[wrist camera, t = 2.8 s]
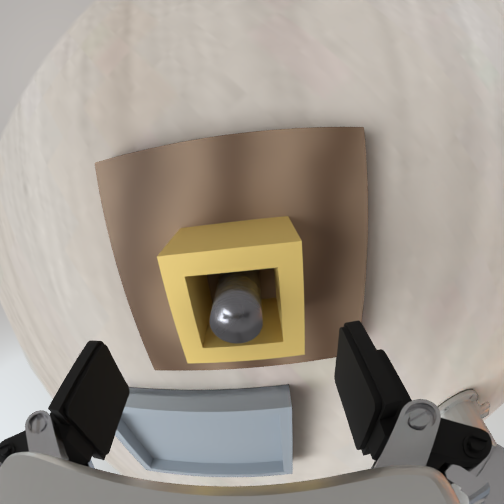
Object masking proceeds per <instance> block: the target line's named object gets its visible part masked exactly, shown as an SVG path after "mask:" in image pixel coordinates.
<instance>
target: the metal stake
mask: <svg viewBox="0 0 504 504" xmlns="http://www.w3.org/2000/svg"><path fill="white" fill-rule="evenodd" d="M262 325H263V319H262V304H261V290H260V275H259V269H258V270H248V271H238V272H228V273H220V275H219V279H218V284H217V288H216V292H215V297H214V301H213V306H212V310H211V315H210V327H211V329H212V331H213V333H214V334H215V335H216V336H217V337H218V338H220V339H221V340H223V341H226V342H229V343H236V344H237V343H245V342H248V341H250V340H252V339H254V338H255V337H256V336H257V335H258V334H259V333H260V331H261V329H262Z"/></svg>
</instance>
